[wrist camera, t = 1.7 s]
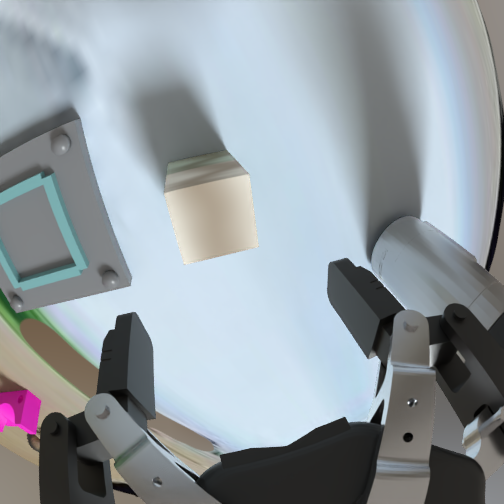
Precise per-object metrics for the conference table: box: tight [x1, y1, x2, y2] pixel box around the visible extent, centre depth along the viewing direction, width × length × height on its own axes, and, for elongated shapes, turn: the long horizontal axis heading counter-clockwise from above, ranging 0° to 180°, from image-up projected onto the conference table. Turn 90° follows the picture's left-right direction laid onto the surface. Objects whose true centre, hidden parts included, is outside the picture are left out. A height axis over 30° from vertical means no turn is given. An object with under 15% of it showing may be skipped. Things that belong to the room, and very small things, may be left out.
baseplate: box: [0, 119, 132, 313], centre depth 20 cm, size 16×16×2 cm
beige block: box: [164, 150, 259, 265], centre depth 20 cm, size 5×5×8 cm
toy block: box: [0, 390, 41, 434], centre depth 30 cm, size 15×6×8 cm, turn 104°
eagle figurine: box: [27, 433, 40, 452], centre depth 38 cm, size 8×7×9 cm
